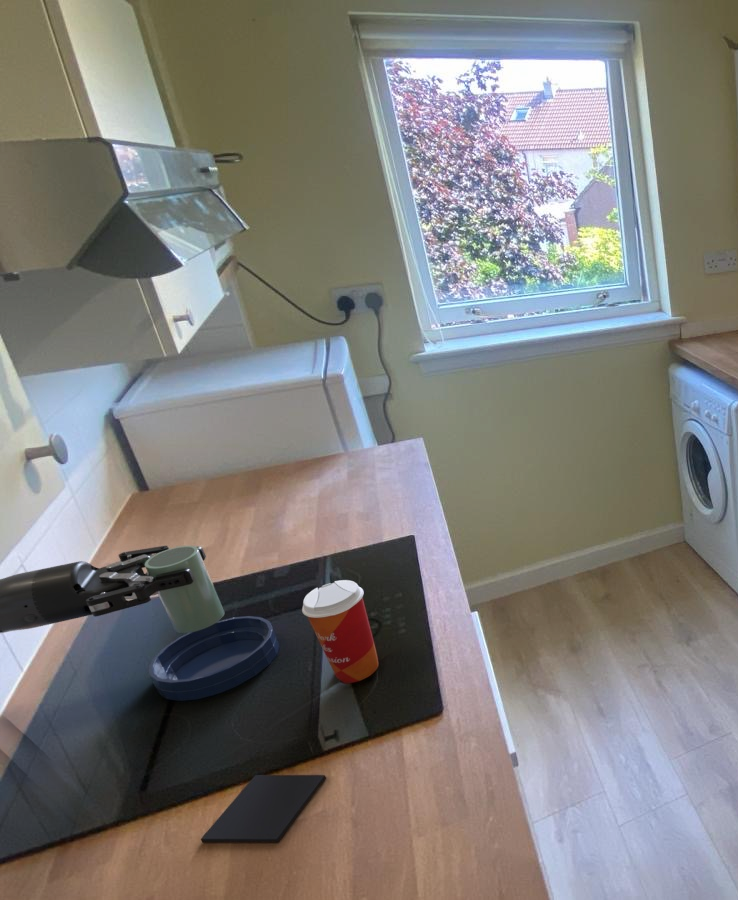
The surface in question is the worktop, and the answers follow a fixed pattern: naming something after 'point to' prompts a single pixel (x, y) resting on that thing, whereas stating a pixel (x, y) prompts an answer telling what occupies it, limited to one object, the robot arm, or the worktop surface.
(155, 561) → the cup
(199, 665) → the bowl
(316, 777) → the mat
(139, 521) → the worktop surface
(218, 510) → the worktop surface
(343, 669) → the paper cup
